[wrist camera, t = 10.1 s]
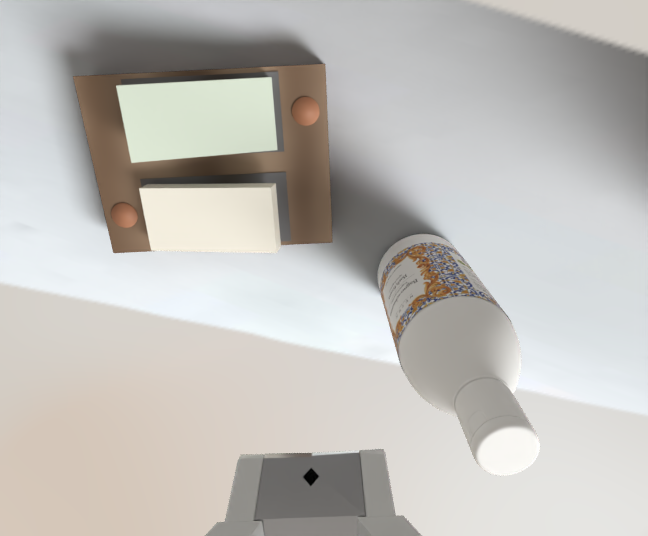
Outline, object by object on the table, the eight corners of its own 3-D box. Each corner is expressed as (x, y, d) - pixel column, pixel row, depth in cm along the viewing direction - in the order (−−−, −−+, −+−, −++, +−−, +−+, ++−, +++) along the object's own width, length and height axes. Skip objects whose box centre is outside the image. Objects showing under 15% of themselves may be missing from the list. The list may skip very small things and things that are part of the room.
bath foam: (409, 215, 38) (498, 359, 19) (478, 258, 39) (622, 430, 21) (360, 284, 40) (397, 472, 22) (427, 322, 42) (516, 529, 23)
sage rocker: (268, 77, 31) (271, 77, 30) (274, 147, 33) (277, 150, 31) (118, 85, 29) (116, 85, 28) (133, 159, 31) (131, 162, 30)
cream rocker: (275, 183, 32) (270, 187, 30) (280, 246, 33) (276, 252, 32) (147, 184, 33) (138, 188, 32) (159, 244, 35) (151, 250, 34)
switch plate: (324, 63, 33) (325, 63, 30) (331, 229, 38) (333, 247, 34) (93, 75, 34) (65, 76, 30) (128, 239, 38) (108, 258, 35)
